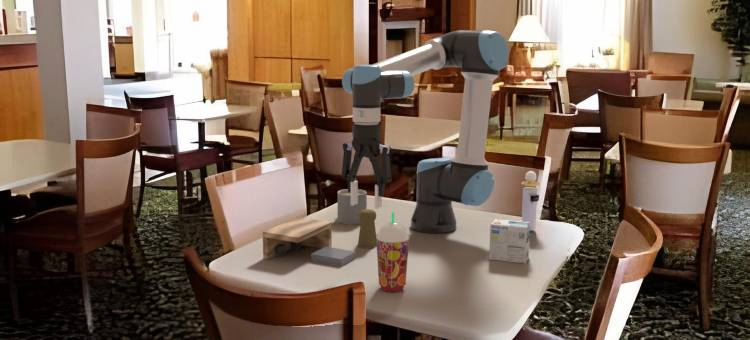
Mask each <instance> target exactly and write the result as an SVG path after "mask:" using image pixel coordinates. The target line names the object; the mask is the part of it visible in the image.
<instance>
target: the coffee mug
mask: <svg viewBox="0 0 750 340" xmlns="http://www.w3.org/2000/svg"><path fill="white" fill-rule="evenodd" d="M367 193H368V192H367V191H366V190H364V189H359V188H358V204H355V205H353V206H352V205H351V193H349V192H348V188H347V189H346V188H345V189H340V190H338V191H337V222H338V223H341V224H343V225H344V224H345V225H360V224H361V220H360V218H359V214H360V211H362V210H365V209H368V208H367V205H368V204H367V201H368V200H367V199H368V198H367V195H368V194H367Z"/></svg>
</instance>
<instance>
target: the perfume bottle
mask: <svg viewBox="0 0 750 340" xmlns="http://www.w3.org/2000/svg"><path fill="white" fill-rule="evenodd" d="M524 175H525V180H523V181H521V185H522V186H524V187H523V189H522V204H521V205H522V206H521V208H522V209H521V210H522V211H521V221H523V222H530V232H531V231H535V230H536V226H537V224H536V223H537V204H538V202H539V201H540V200H539V199H540V194H538V188H536V187H539V186H540V185H541V183H540V182H539V181H536V180H537V173H536V172H535V171H534V170H533V171H532V170H529V171H527V172H526V173H525V174H524Z"/></svg>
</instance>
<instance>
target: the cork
mask: <svg viewBox="0 0 750 340" xmlns="http://www.w3.org/2000/svg"><path fill="white" fill-rule="evenodd" d="M359 218H360V220H361V224H359V226H360V227H359V233H358V241H357V247H359V248H363V249H364V248H365V249H371V248H375V247H376V248H377V241H376V236H377V231H376V224H375V223H376V222H375V221H376V218H377V213H376V211H375V210H373V209H369V208H367V209H365V210H362V211H360V214H359Z"/></svg>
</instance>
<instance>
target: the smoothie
mask: <svg viewBox="0 0 750 340" xmlns="http://www.w3.org/2000/svg"><path fill="white" fill-rule="evenodd" d="M376 241H377V246H376V257H377V272H378V273H377V274H378V275H377V276H378V285H379V286H380V289H381V290H382V291H384V292H387V291H388V293H397V291H398V292H401V291H403V289H404V286H405V285H406V284H407V269H408V256H409V244H410V235H409V234H408V232H407V230H406V228H405V227H404V226H403V225H402V224H400V223H398V222H395V212H394V211H391V221H390V222H388V223H386V224H384V225H382V227H380V229H379V230H378V233H376Z"/></svg>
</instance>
